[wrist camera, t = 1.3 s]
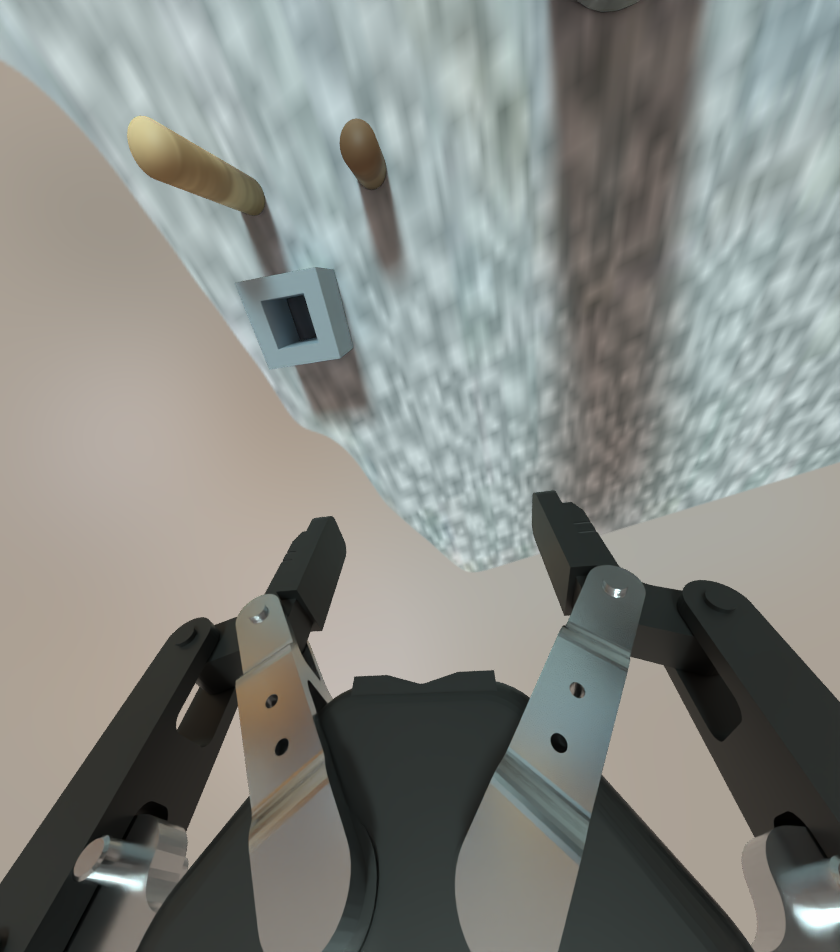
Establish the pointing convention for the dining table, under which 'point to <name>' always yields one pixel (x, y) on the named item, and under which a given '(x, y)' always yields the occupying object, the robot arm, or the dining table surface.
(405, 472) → the dining table surface
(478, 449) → the dining table surface
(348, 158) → the short dowel
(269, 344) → the hole block
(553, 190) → the dining table surface
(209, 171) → the long dowel
